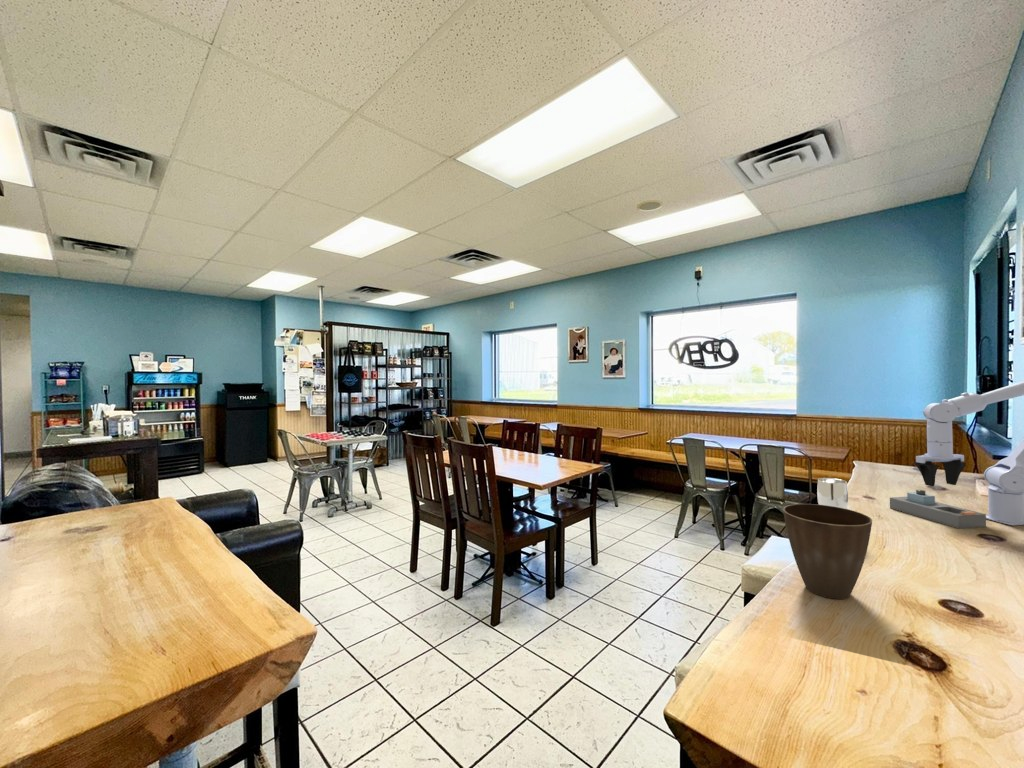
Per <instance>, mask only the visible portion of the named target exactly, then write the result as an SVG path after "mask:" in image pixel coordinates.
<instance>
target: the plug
mask: <svg viewBox="0 0 1024 768" xmlns="http://www.w3.org/2000/svg"><path fill="white" fill-rule="evenodd" d="M906 497H907V501H911V502H914V503H918V504H922V505H932V504H935V502H936V496H935V495H933V494H928V493H926V490H924V489H915V491H914V492H913V491H911V492H909V491H908V492H906Z"/></svg>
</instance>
